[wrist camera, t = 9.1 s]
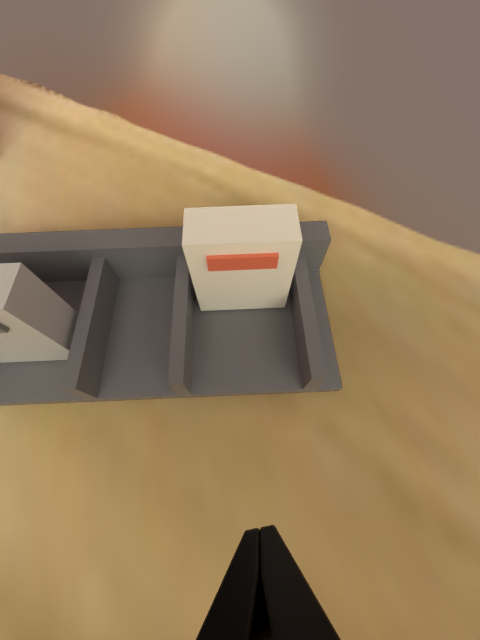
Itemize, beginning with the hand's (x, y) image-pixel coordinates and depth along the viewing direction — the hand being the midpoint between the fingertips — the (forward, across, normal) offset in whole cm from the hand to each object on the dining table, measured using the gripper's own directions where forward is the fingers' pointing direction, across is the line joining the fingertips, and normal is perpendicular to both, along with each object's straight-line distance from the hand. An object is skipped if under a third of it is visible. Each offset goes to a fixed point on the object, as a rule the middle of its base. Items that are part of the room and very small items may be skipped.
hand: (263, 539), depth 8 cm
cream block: (+18, +1, +4) cm, 18 cm away
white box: (+15, -15, +4) cm, 22 cm away
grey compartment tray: (+18, -8, +4) cm, 19 cm away
